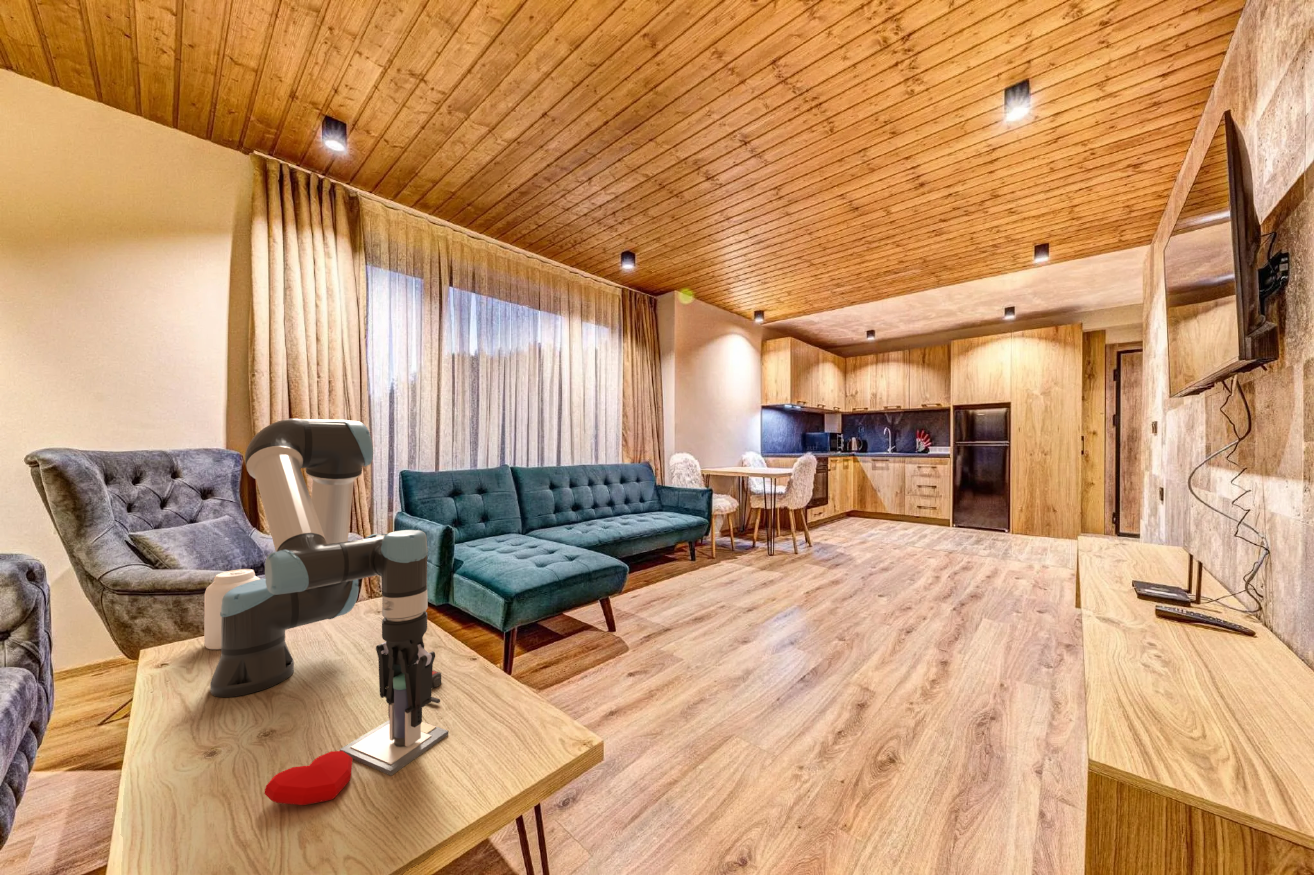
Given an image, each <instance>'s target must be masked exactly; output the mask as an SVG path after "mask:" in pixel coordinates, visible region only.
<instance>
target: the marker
mask: <svg viewBox="0 0 1314 875" xmlns="http://www.w3.org/2000/svg"><path fill="white" fill-rule="evenodd" d="M393 688H394V745H395V746H398V747H401V746H405V709H407V708H408V700H407V692H406V684H405V675H404V673H401V674H399V675H397V676H395V677H394V678H393Z"/></svg>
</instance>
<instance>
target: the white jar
mask: <svg viewBox="0 0 1314 875" xmlns="http://www.w3.org/2000/svg"><path fill="white" fill-rule="evenodd" d="M259 579H261V578H260V577H258V576H256V573H255V570H254V569H251V568H241V569H240V568H239V569H233V570H227V571H224V572H220V573H218V574H216V575H215V576H214V578H213V582H212V583H211V584H209V585H208V586H207V587H206V589H205V591H204V612H203V613H204V616H203V617H204V619H203V620H204V622H203V623H204V624H203V625H204V626H203V627H204V628H203V629H204V630H203V631H204V632H203V633H204V634H203V635H204V636H203V640H204V641H203V642H204V643H203V644H204V646H205V648H206V649H209V650H221V616H220V612H221V606H222V599H223V597H224V595H225V594H226V593H227V592H228V591H230V590H232V589H233V588H235V587H237V586H240V585H242V584H245V583H248V582H252V581H255V580H259Z"/></svg>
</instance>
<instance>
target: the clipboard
mask: <svg viewBox="0 0 1314 875" xmlns="http://www.w3.org/2000/svg"><path fill="white" fill-rule="evenodd" d="M447 736H449V730H447V729H444V728H442V727H439V726H435V725H433V724H430V723H427V722H426V721H425V722H424V721H422V723H421V738H420V739H419V740H417V741H416V742H414V743H413V744H411V745H410V746H408V747H407V746H401V747H398V746H395V745H394V740H393V741H392V740H389V719H388V720H386V721H385V722H383V723H382V724H380V725H378V726H376V727H374V728H373V729H371V730H370V731H368V732H366V733H364V734H363V735H361V736H359V737H357V738H356V739H355V740H352V741H351V742H349V743H348V744H346V745H344V746H343V747H340V748H339V751H343V752H345V753H346V754H348V755H349V756H350V757H352V760H354V761H356V762H358V763H360V764H361V763H362V764H363V765H366V766H368V767H370V768H373V769H375V770H377V771H379V772H381V773H384V774H386V775H389V776H392V775H394V774H396V773H397V772H398V771H400V770H401V769H403V768H404V767H406V766H407V765H409V764H410V763H411V762H412V761H414V760H416V759H417V758H418V757H419V756H421V755H423V753H425V752H426V751H428V750H429V749H431V748H432V747H433V746H435V745H437V744H438V743H439V742H440V741H441V740H443V739H445V738H446V737H447Z"/></svg>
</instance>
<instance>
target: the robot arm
mask: <svg viewBox="0 0 1314 875" xmlns="http://www.w3.org/2000/svg"><path fill="white" fill-rule="evenodd" d="M373 460H374V444H373V439H372V437H371V434H370V431H369V429H368V427H367V426H366V425H365V423H363V422H361V421H357V420H348V419H347V420H346V419H315V418H314V419H309V418H308V419H307V418H305V419H304V418H286V419H282V420H278V421H275V422H273V423H270V424H269V425H266V427H263V428H262V429H261V430H260V431H259V432H257V433H256V434H255V435H254V436H253V437H252V438H251V440H250V442H249V443H248V445H247V446H246V450H245V453H244V463H245V467H246V472H248V474H249V476H250V477H252V478H253V479H255V481H256V485H257V488H258V491H259V494H260V499H261V503H262V506H263V510H264V513H265V514H264V515H265V516H266V521H267V524H268V527H269V531H270V535H271V539H272V542H273V547H274V549H275V551H274V552H271V553H269V554H268V555H267V557H266V558H265V563H264V578H260V579H259V580H255V581H252V582H248V583H245V584H242V585H240V586H237V587H235V588H233V589H232V590H230V591H228V592H227V593H226V594H225V595H224V597H223V599H222V606H221V612H220V616H221V649H220V657H219V659H218V662H217V665H216V667H215V669H214V672H213V675H212V678H211V680H210V686H209V687H210V688H209V689H210V690H209V691H210V694H211V695H212V696H214V697H217V698H218V697H219V698H232V697H240V696H246V695H249V694H253V693H257V692H261V691H263V690H266V689H268V688H271V687H274V686H277V685H278V684H280V683H282V682H284V681H286V680H287V679H288V678H290V677H291V676H292V675H293V674H294V671H295V662H294V658H293V656H292V653H291V651H290V649H289V647H288V645H287V642H286V631H287V630H290V629H294V628H297V627H302V626H305V625H310V624H313V623H317V622H321V621H322V622H323V621H326V620H333V619H335V618H338V617H341V616H344V615H347V614H348V613H349V612H351V611H352V610H353V608H354V607H355V605H356V603H357V600H358V595H359V590H360V589H359V580H361V579H366V578H367V579H368V578H371V577H375V576H380V577H381V589H382V590H381V595H382V597H381V598H382V604H381V605H382V607H381V608H382V611H381V612H382V617H383V619H381V638H382V640H383V641H384V642H382V643H380V644H377V645H376V646H375V650H376V654H377V659H378V680H379V681H378V682H379V684H378V686H379V696H380V698H381V699H383V698H385V701H386V704H388V718H389V719H388V720H389V740H392V741H393V740H394V688H393V678H394V677H395V676H397V675H399V674H401V673H404V675H405V684H406V692H407V700H408V708H407V709H405V746H407V747H408V746H410V745H411V744H413V743H414V742H416V741H417V740H419V739H420V738H421V723H422V722H423V708H424V707H426V706H427V705H429V704H430V703H432V701H431V697H432V689H433V688H432V670H433V667H434V662H435V659H436V653H435V652H434V651H433V650H432V651H430V652H428V650H426V649H425V643H424V635H425V634H426V632H427V631H428V612H426V611H427V609H428V607H429V606H428V553H429V547H428V541H427V540H428V538H427V534H426V532H424V531H422V530H420V529H405V530H404V529H403V530H395V531H392V532H391V531H390V532H388V533H374V534H373V533H372V534H370V535H368V536H366V537H364V538H362V539H361V538H360V539H354V540H349V533H350V523H351V511H352V504H353V503H352V501H353V492H354V482H355V480H356V479H357V478H359V477H360V476H362V473H363V467H368V466H370V465H371V464H372V462H373ZM301 469H305V474H306V475H307V476H308V477H309V478H310V479H312V482H311V483H312V486H311V495H310V492H309V489H308V487H307V484H306V481H305V477H304V475H303V472H302V470H301Z"/></svg>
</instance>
